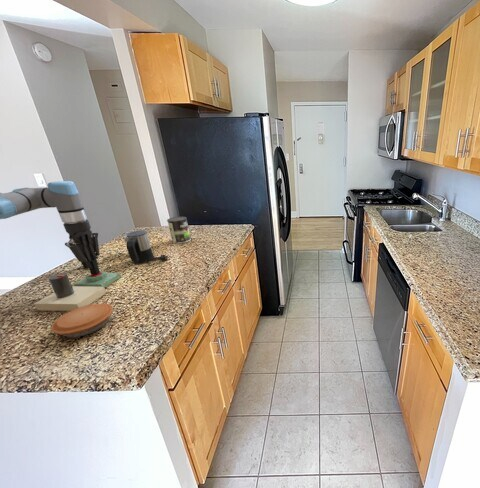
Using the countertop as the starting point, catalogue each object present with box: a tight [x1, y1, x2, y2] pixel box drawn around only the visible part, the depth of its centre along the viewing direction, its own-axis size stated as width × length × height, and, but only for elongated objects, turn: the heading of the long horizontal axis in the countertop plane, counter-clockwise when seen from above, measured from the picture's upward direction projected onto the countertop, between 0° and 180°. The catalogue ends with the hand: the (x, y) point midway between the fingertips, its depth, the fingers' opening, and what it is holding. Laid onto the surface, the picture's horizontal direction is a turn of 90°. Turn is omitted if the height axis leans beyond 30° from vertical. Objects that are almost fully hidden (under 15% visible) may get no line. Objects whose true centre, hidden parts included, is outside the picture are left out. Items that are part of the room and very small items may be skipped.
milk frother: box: [125, 229, 169, 264], centre depth 132 cm, size 14×16×15 cm
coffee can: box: [166, 216, 192, 245], centre depth 158 cm, size 10×10×14 cm
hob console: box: [33, 285, 107, 312], centre depth 100 cm, size 16×12×3 cm
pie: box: [50, 303, 114, 338], centre depth 86 cm, size 15×16×5 cm
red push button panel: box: [72, 270, 122, 289], centre depth 113 cm, size 12×10×4 cm
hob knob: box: [48, 272, 74, 298], centre depth 98 cm, size 5×5×8 cm
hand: (95, 273), depth 112 cm, fingers closed
